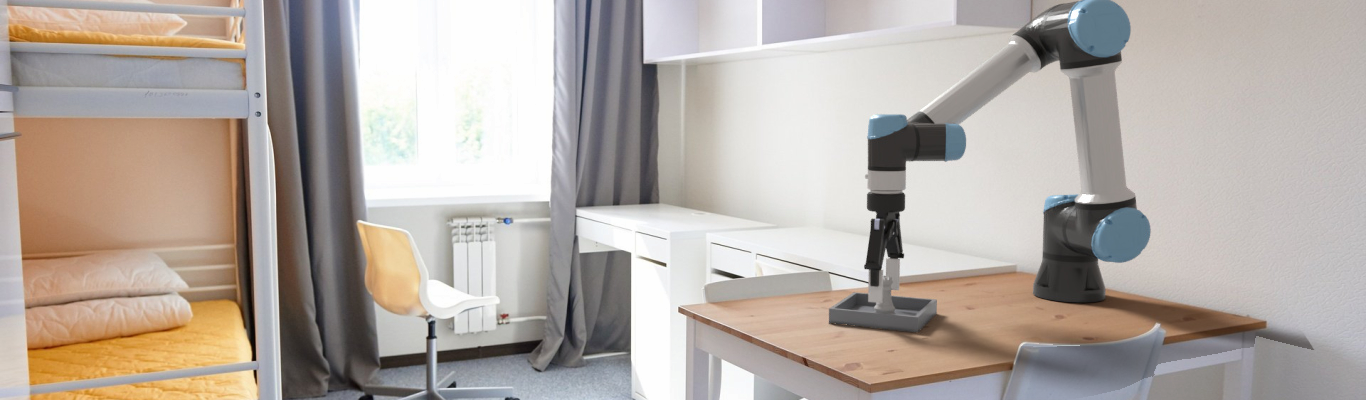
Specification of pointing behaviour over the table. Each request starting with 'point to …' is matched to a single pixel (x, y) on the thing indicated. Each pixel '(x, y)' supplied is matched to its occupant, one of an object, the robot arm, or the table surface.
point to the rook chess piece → (886, 298)
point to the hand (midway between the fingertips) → (884, 295)
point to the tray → (862, 313)
